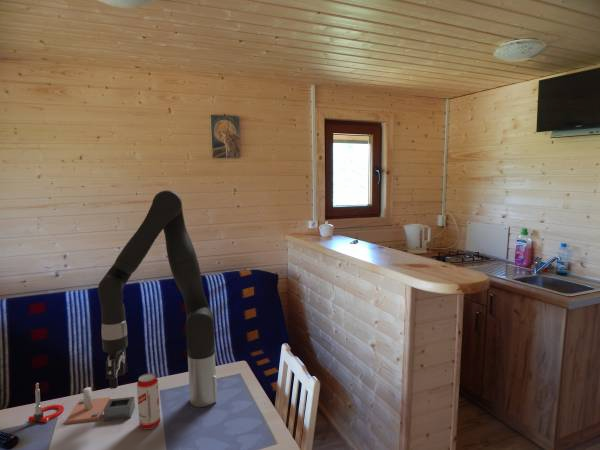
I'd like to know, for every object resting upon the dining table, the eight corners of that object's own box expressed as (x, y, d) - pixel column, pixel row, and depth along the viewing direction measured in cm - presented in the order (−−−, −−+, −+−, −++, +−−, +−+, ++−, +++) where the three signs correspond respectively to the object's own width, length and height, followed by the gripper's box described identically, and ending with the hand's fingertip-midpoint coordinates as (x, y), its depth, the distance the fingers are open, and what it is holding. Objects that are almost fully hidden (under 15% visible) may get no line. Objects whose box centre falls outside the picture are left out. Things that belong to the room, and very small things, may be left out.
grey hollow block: (134, 407, 133) (134, 396, 133) (130, 418, 127) (129, 406, 127) (110, 410, 132) (109, 399, 131) (104, 421, 126) (103, 409, 125)
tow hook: (48, 406, 135) (25, 421, 126) (46, 371, 134) (23, 383, 125) (69, 408, 134) (48, 424, 125) (68, 372, 133) (46, 385, 124)
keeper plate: (109, 399, 138) (108, 378, 137) (99, 420, 126) (97, 397, 125) (79, 403, 136) (77, 381, 135) (65, 423, 125) (63, 400, 124)
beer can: (155, 416, 128) (152, 370, 126) (163, 424, 124) (161, 377, 122) (136, 424, 124) (133, 377, 122) (144, 433, 119) (141, 384, 117)
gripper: (121, 342, 120) (123, 391, 122) (132, 325, 134) (134, 370, 136) (95, 344, 119) (98, 394, 120) (108, 327, 133) (111, 372, 134)
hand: (117, 381), depth 128 cm, fingers open, 8 cm apart
